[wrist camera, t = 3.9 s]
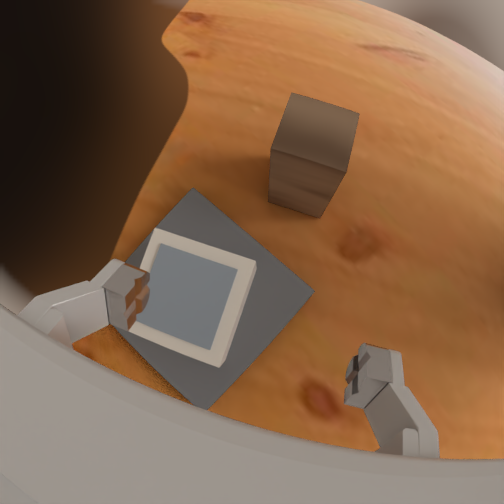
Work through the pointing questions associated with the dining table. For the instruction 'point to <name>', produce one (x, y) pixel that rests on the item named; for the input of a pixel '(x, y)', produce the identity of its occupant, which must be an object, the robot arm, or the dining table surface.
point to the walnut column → (310, 154)
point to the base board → (209, 299)
